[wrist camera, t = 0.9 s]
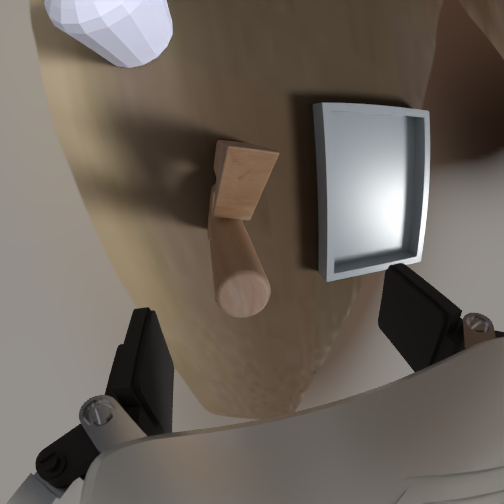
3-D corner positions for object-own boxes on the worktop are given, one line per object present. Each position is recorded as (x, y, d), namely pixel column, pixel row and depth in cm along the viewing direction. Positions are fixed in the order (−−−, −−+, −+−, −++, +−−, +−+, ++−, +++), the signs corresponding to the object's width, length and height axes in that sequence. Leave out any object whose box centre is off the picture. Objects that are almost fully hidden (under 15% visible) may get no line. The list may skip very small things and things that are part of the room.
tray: (312, 104, 31) (322, 102, 28) (415, 110, 32) (429, 111, 30) (318, 271, 40) (326, 281, 37) (409, 253, 41) (420, 261, 39)
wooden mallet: (248, 142, 31) (298, 156, 15) (236, 231, 36) (268, 322, 19) (216, 139, 31) (231, 147, 14) (206, 229, 35) (212, 321, 18)
